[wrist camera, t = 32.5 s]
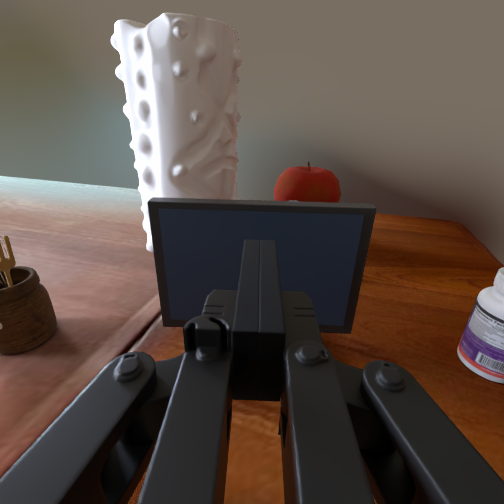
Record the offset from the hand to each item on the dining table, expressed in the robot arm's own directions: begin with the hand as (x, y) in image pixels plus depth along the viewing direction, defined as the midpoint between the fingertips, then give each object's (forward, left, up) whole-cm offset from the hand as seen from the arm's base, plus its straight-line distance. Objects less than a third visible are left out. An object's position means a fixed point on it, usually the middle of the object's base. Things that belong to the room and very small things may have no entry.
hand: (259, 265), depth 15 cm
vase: (+36, -15, -15) cm, 42 cm away
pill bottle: (-7, -24, -15) cm, 29 cm away
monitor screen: (+6, -5, -10) cm, 13 cm away
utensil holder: (+24, +11, -15) cm, 30 cm away
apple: (+27, -34, -15) cm, 46 cm away
